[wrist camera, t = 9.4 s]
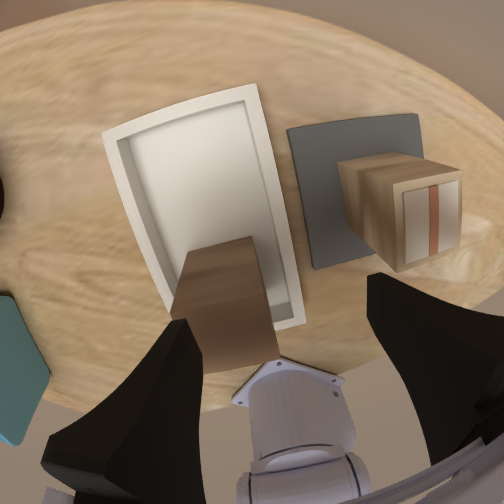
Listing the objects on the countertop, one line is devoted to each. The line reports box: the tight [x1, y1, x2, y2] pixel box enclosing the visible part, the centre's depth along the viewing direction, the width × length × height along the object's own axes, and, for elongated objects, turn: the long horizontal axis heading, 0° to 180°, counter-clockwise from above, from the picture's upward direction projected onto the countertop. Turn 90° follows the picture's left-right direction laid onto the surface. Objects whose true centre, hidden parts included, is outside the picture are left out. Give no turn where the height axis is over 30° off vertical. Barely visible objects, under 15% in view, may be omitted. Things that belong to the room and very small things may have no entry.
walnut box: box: [169, 235, 281, 374], centre depth 17 cm, size 4×4×7 cm
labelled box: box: [337, 152, 462, 273], centre depth 15 cm, size 4×4×7 cm
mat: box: [286, 114, 424, 270], centre depth 18 cm, size 10×10×1 cm
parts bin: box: [101, 83, 307, 331], centre depth 18 cm, size 16×9×2 cm, turn 14°
